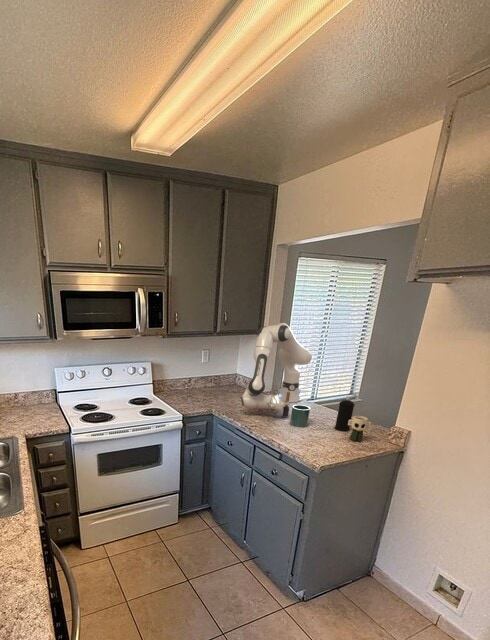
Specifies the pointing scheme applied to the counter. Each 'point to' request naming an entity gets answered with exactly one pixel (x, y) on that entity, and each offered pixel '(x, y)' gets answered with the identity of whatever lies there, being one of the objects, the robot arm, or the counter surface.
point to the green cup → (300, 415)
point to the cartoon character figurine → (358, 427)
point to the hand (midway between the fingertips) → (288, 402)
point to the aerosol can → (344, 414)
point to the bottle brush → (286, 406)
